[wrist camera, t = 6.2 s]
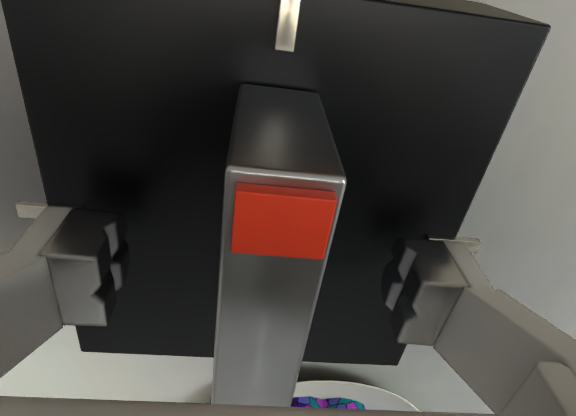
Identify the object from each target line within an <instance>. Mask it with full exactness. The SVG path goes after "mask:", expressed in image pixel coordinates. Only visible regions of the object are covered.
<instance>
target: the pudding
mask: <svg viewBox="0 0 576 416" xmlns="http://www.w3.org/2000/svg"><path fill="white" fill-rule="evenodd" d="M291 407H311V408H338V409H365V410H393V411H419V410H418V409H417V408H416V407H415V406H414V405H413V404H412V403H411V402H409V401H407V400H405V399H404V398H402V397H400V396H399V395H397V394H394V393H392V392H389V391H386V390H384V389H381V388H378V387H374V386H369V385H365V384H360V383H354V382H343V381H304V382H297V383H296V387H295V391H294V395H293V399H292V403H291Z"/></svg>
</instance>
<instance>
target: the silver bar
mask: <svg viewBox="0 0 576 416" xmlns="http://www.w3.org/2000/svg"><path fill="white" fill-rule="evenodd" d="M346 183H347V179H346V175H345V172H344V169H343V166H342V163H341V160H340V157H339V154H338V151H337V148H336V145H335V142H334V139H333V136H332V133H331V130H330V126H329V123H328V120H327V117H326V114H325V111H324V108H323V105H322V102H321V99H320V96H319V94H318V93H315V92H307V91H299V90H291V89H283V88H275V87H267V86H258V85H250V84H242V85H240V87H239V92H238V98H237V103H236V109H235V115H234V121H233V126H232V132H231V138H230V144H229V149H228V155H227V161H226V167H225V178H224V195H223V212H222V228H221V245H220V262H219V279H218V295H217V312H216V329H215V345H214V362H213V379H212V396H211V404H230V405H257V406H284V407H291V403H292V399H293V395H294V391H295V387H296V383H297V379H298V375H299V371H300V367H301V363H302V359H303V355H304V351H305V347H306V343H307V339H308V335H309V331H310V327H311V323H312V319H313V315H314V311H315V307H316V303H317V299H318V295H319V291H320V287H321V283H322V279H323V275H324V271H325V267H326V263H327V259H328V255H329V251H330V247H331V243H332V239H333V235H334V231H335V227H336V223H337V219H338V215H339V211H340V207H341V203H342V199H343V195H344V191H345V187H346Z"/></svg>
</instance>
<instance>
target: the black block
mask: <svg viewBox="0 0 576 416" xmlns="http://www.w3.org/2000/svg"><path fill="white" fill-rule="evenodd" d="M1 3H2V7H3V12H4V16H5V20H6V25H7V29H8V33H9V38H10V42H11V47H12V51H13V55H14V60H15V64H16V68H17V73H18V77H19V82H20V86H21V90H22V95H23V99H24V103H25V108H26V112H27V116H28V121H29V125H30V130H31V134H32V138H33V143H34V147H35V151H36V156H37V160H38V165H39V169H40V173H41V178H42V182H43V186H44V191H45V195H46V200H47V203H35V202H23V201H18V202H17V203H16V204H15V206H16V210H17V213H18V217H21V218H34V219H36V218H37V217H38V215H39V214H40V213H41V212H42V211H43V209H44V208H45V207H48V206H62V207H73V208H83V209H92V210H102V211H111V212H120V213H124V215H125V216H126V221H127V231H126V233H125V236H124V238H123V239H124V240H125V241H126V242H127V243H128V244H129V251H130V260H129V268H128V273H127V277H126V280H125V283H124V285H123V287H121V288H120V289H118V290H117V291H116V300H117V302H116V305H115V307H114V310H113V312H112V314H111V317H110V319H109V322H108V324H107V326H78V325H75V326H76V331H77V335H78V339H79V344H80V348H81V351H83V352H103V353H125V354H148V355H170V356H193V357H214V345H215V329H216V312H217V295H218V279H219V262H220V245H221V228H222V212H223V195H224V178H225V167H226V161H227V155H228V149H229V144H230V138H231V132H232V126H233V121H234V115H235V109H236V103H237V98H238V92H239V87H240V85H242V84H250V85H258V86H267V87H275V88H283V89H291V90H299V91H307V92H315V93H318V94H319V96H320V99H321V102H322V105H323V108H324V111H325V114H326V117H327V120H328V123H329V126H330V130H331V133H332V136H333V139H334V142H335V145H336V148H337V151H338V154H339V157H340V160H341V163H342V166H343V169H344V172H345V175H346V179H347V183H346V187H345V191H344V195H343V199H342V203H341V207H340V211H339V215H338V219H337V223H336V227H335V231H334V235H333V239H332V243H331V247H330V251H329V255H328V259H327V263H326V267H325V271H324V275H323V279H322V283H321V287H320V291H319V295H318V299H317V303H316V307H315V311H314V315H313V319H312V323H311V327H310V331H309V335H308V339H307V343H306V347H305V351H304V355H303V359H302V361H305V362H328V363H350V364H373V365H395V366H396V365H398V363H399V361H400V359H401V356H402V354H403V352H404V350H405V348H406V345H407V344H405V343H397V340H396V337H395V334H394V331H393V328H392V325H391V322H390V317H391V314H392V312H393V311H392V310H391V309H390V308H388V307H387V306H386V305H385V303H384V300H383V297H382V290H381V283H382V275H383V271H384V268H385V265H386V264H388V263H389V262H390V261H392V260H393V259H394V258H393V255H392V253H391V249H392V246H393V243H394V241H395V240H396V239H397V238H398V237H401V238H414V239H427V240H451V241H461V242H462V243H464V244H465V245H466V247H467V248H468V250H469V251H470V253H476V252H477V250H478V248H479V246H480V244H481V242H480V240H479V239H473V238H461V237H456V235H457V233H458V231H459V229H460V227H461V224H462V222H463V220H464V218H465V216H466V213H467V211H468V209H469V207H470V205H471V202H472V200H473V198H474V196H475V194H476V191H477V189H478V187H479V185H480V183H481V180H482V178H483V176H484V174H485V172H486V169H487V167H488V165H489V163H490V161H491V158H492V156H493V154H494V152H495V150H496V147H497V145H498V143H499V141H500V139H501V136H502V134H503V132H504V130H505V128H506V125H507V123H508V121H509V119H510V117H511V114H512V112H513V110H514V108H515V106H516V103H517V101H518V99H519V97H520V95H521V92H522V90H523V88H524V86H525V84H526V81H527V79H528V77H529V75H530V73H531V70H532V68H533V66H534V64H535V62H536V59H537V57H538V55H539V53H540V51H541V48H542V46H543V44H544V42H545V40H546V37H547V35H548V33H549V31H550V28H551V26H550V25H549V24H545V23H542V22H539V21H536V20H533V19H530V18H527V17H524V16H521V15H518V14H514V13H511V12H508V11H505V10H502V9H499V8H496V7H493V6H490V5H487V4H483V3H478V2H472V1H465V0H1Z"/></svg>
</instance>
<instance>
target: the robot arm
mask: <svg viewBox="0 0 576 416" xmlns="http://www.w3.org/2000/svg"><path fill="white" fill-rule="evenodd" d="M126 231H127V221H126V216H125V215H124V213H120V212H111V211H102V210H92V209H83V208H73V207H62V206H48V207H45V208H44V209H43V211H42V212H41V213H40V214H39V215H38V217H37V218H36V219H35V220H34V222H33V223H32V224H31V225H30V226H29V228H28V229H27V230H26V231H25V233H24V234H23V235H22V236H21V237H20V239H19V240H18V241H17V242H16V243H15V245H14V246H13V247H12V248H11V250H10V251H9V252H8V253H7V254H6V253H0V378H1V377H2V376H3V375H5V374H6V373H7V372H8V371H10V370H11V369H12V368H13V367H15V366H16V365H17V364H18V363H19V362H21V361H22V360H23V359H24V358H26V357H27V356H28V355H29V354H31V353H32V352H33V351H34V350H35V349H37V348H38V347H39V346H40V345H42V344H43V343H44V342H45V341H47V340H48V339H49V338H50V337H51V336H53V335H54V334H55V333H56V332H58V331H59V330H60V329H61V328H63V326H62V325H78V326H107V324H108V322H109V319H110V317H111V314H112V312H113V310H114V307H115V305H116V302H117V300H116V291H117V290H118V289H120V288H121V287H123V285H124V283H125V280H126V277H127V273H128V268H129V260H130V251H129V244H128V243H127V242H126V241H125V240H124V239H123V238H124V236H125V233H126ZM391 253H392V255H393V258H394V259H393V260H392V261H390V262H389V263H388V264H386V265H385V268H384V271H383V275H382V283H381V290H382V297H383V300H384V303H385V305H386V306H387V307H388V308H390V309H391V310H392V311H393V312H392V314H391V317H390V322H391V325H392V328H393V331H394V334H395V337H396V340H397V343H405V344H417V345H429V346H434V347H433V348H434V349H435V350H436V351H437V352H438V353H439V354H440V355H441V356H442V358H443V359H444V360H445V361H446V362H447V363H448V364H449V365H450V366H451V367H452V368H453V369H454V370H455V372H456V373H457V374H458V375H459V376H460V377H461V378H462V379H463V380H464V381H465V382H466V383H467V384H468V385H469V387H470V388H471V389H472V390H473V391H474V392H475V393H476V394H477V395H478V396H479V397H480V398H481V399H482V400H483V402H484V403H485V404H486V405H487V406H488V407H489V408H490V409H491V410H492V411H493V412H494V413H495V414H476V413H448V412H420V411H393V410H365V409H338V408H311V407H284V406H257V405H230V404H203V403H176V402H149V401H122V400H95V399H68V398H41V397H14V396H0V416H576V340H575V339H573V338H572V337H570V336H569V335H567V334H566V333H564V332H563V331H561V330H560V329H558V328H557V327H555V326H554V325H552V324H551V323H549V322H548V321H546V320H545V319H543V318H542V317H540V316H539V315H537V314H536V313H534V312H533V311H531V310H530V309H528V308H527V307H525V306H524V305H522V304H521V303H519V302H518V301H516V300H515V299H513V298H512V297H510V296H509V295H507V294H506V293H504V292H503V291H501V290H494V288H493V287H492V285H491V284H490V282H489V281H488V279H487V278H486V276H485V275H484V273H483V271H482V270H481V268H480V267H479V265H478V264H477V262H476V261H475V259H474V258H473V256H472V254H471V253H470V251H469V250H468V248H467V247H466V245H465V244H464V243H462V242H461V241H451V240H427V239H414V238H401V237H398V238H397V239H396V240H395V241H394V243H393V246H392V249H391Z"/></svg>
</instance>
